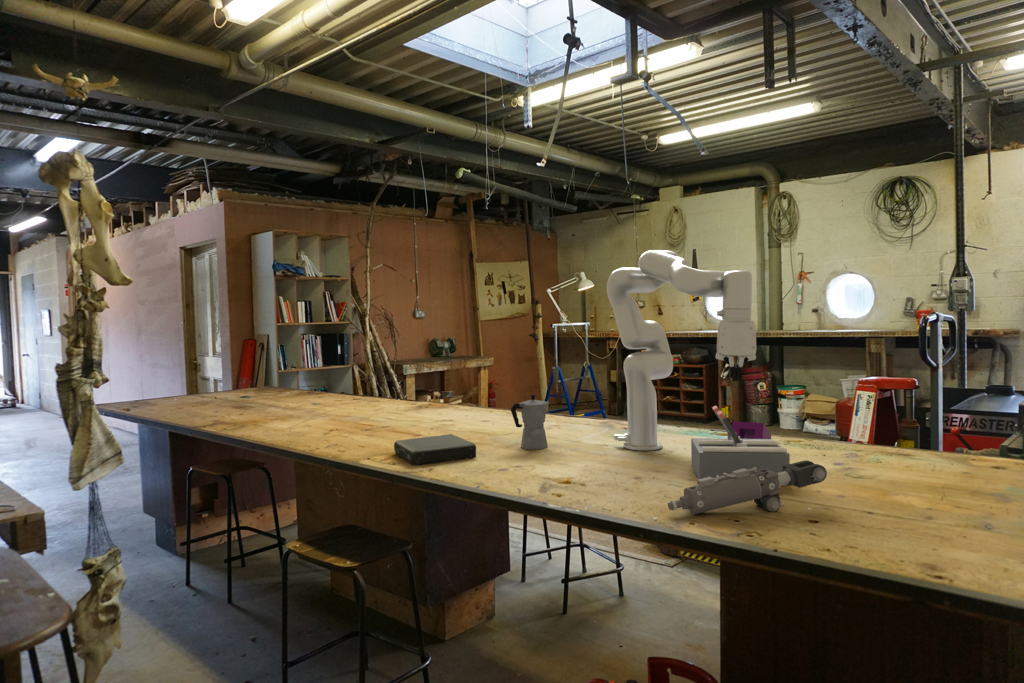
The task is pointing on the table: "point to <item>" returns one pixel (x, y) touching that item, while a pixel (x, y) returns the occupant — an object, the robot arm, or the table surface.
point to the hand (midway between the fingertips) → (735, 380)
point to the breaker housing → (735, 455)
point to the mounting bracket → (751, 430)
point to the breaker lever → (728, 427)
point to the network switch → (434, 449)
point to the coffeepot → (532, 423)
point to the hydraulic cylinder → (748, 487)
